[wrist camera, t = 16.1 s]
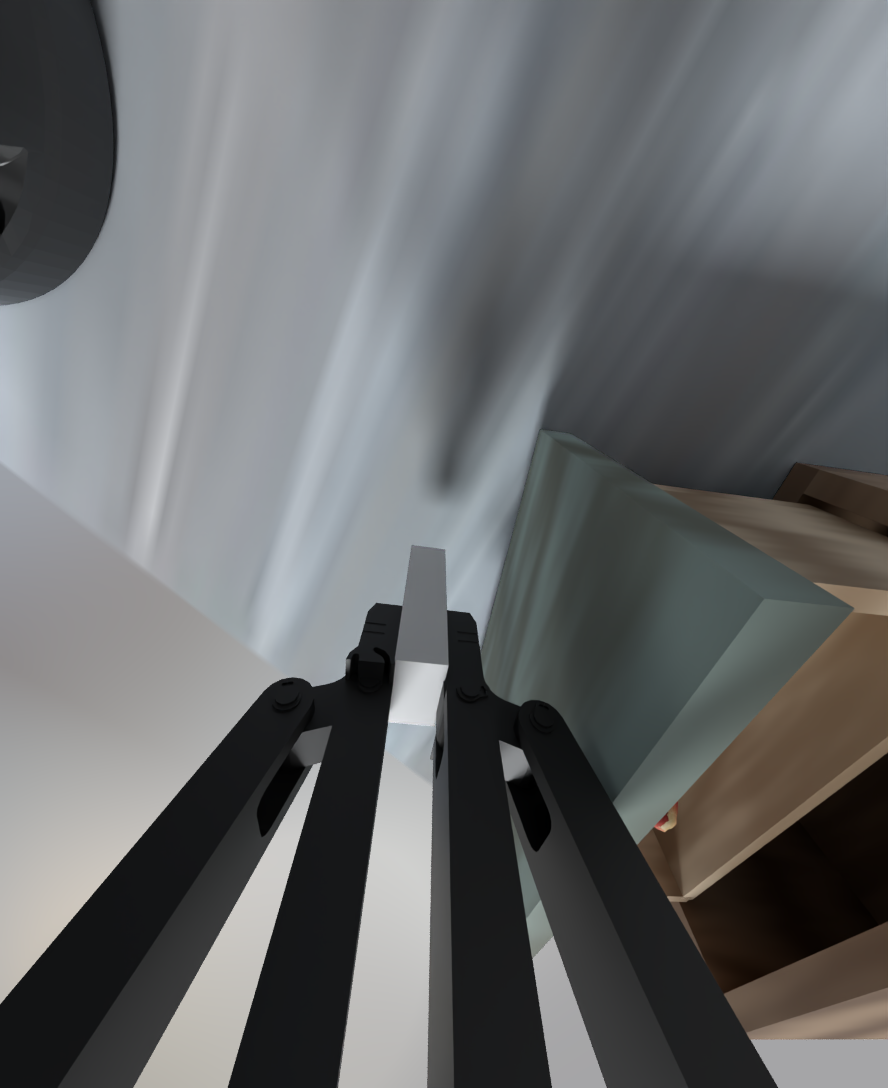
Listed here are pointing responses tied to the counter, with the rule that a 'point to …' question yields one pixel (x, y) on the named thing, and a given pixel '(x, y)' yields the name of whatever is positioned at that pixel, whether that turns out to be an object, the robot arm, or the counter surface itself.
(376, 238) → the counter surface
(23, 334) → the counter surface
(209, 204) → the counter surface
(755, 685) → the drawer
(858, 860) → the cabinet
